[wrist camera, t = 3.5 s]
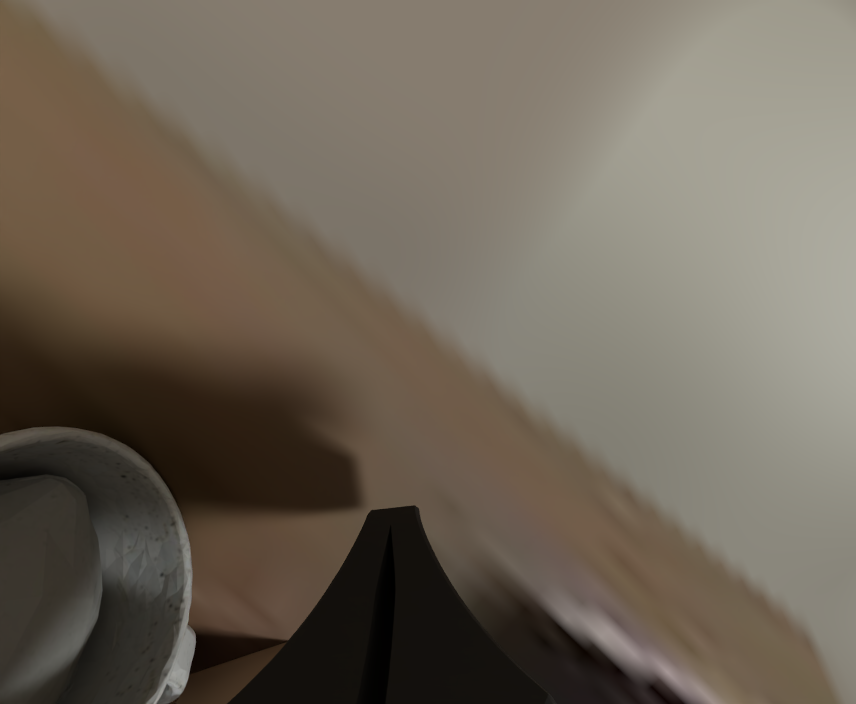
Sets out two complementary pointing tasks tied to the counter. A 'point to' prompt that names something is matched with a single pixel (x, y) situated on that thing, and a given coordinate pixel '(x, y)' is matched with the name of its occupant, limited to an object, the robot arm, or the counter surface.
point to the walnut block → (225, 678)
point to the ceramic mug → (90, 573)
